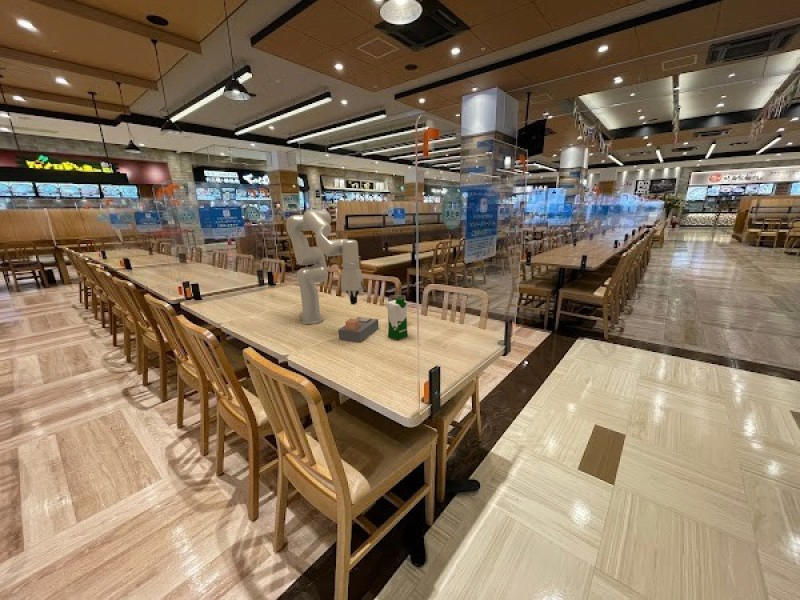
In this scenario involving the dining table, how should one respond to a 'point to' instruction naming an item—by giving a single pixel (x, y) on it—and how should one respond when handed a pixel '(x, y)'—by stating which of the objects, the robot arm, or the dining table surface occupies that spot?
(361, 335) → the button box
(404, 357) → the dining table surface
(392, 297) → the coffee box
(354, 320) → the terracotta plunger
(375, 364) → the dining table surface
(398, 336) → the milk carton
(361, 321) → the metal plunger
